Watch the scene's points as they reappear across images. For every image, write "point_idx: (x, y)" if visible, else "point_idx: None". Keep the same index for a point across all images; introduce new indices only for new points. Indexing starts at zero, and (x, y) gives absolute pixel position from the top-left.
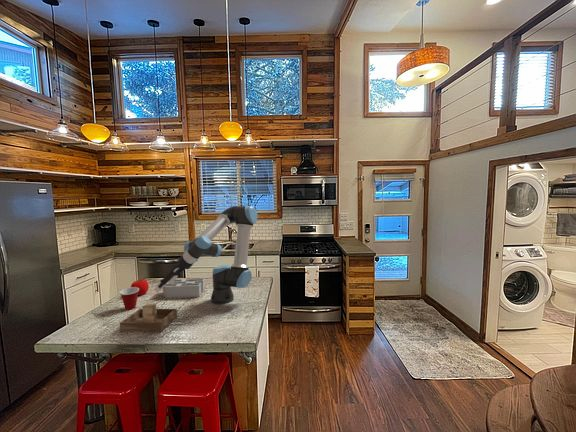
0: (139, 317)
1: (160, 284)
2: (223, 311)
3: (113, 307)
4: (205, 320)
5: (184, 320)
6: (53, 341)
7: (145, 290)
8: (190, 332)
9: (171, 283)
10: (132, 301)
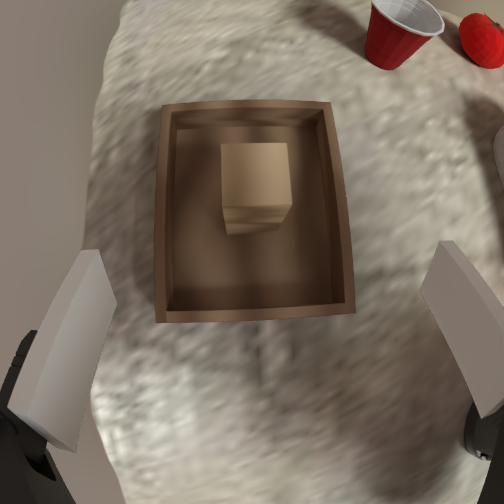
0: (298, 128)
1: (10, 384)
2: (393, 486)
3: (369, 13)
4: (304, 465)
5: (302, 372)
6: (131, 9)
7: (486, 61)
8: (182, 450)
9: (431, 301)
10: (385, 46)
